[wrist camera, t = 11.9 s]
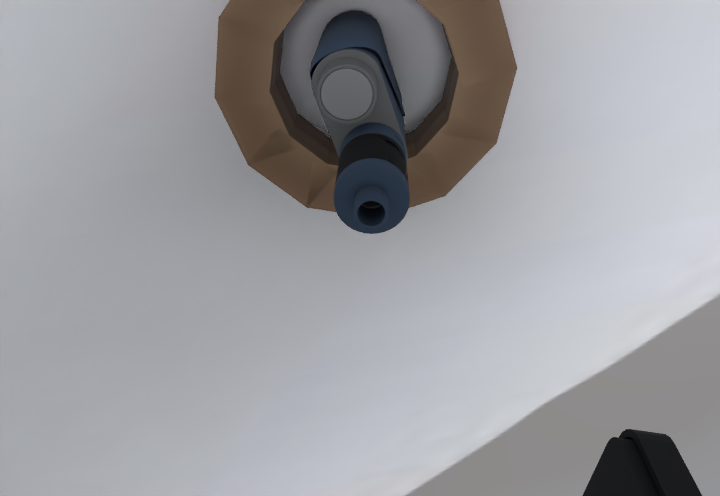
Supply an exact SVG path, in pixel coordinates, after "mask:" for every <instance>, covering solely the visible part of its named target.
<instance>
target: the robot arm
mask: <svg viewBox="0 0 720 496" xmlns="http://www.w3.org/2000/svg"><path fill="white" fill-rule="evenodd" d="M583 496H702V495H701V493H700V491H699V489H698V487H697V485H696V483H695V481H694V480H693V478H692V476H691V474H690V472H689V470H688V468H687V466H686V464H685V463H684V461H683V459H682V457H681V455H680V453H679V451H678V449H677V448H676V446H675V444H674V442H673V441H672V439H671V438H670V437H669V436H667V435H666V434H660V433H653V432H646V431H639V430H632V429H626V430H625V431H623V432H622V433H621V435H620V436H619V438H617V437H613V438H611V439H610V440H609V442H608V443H607V445H606V447H605V449H604V452H603V454H602V456H601V458H600V460H599V462H598V464H597V467H596V468H595V471H594V473H593V475H592V477H591V479H590V481H589V483H588V485H587V487H586V490H585V492H584V494H583Z"/></svg>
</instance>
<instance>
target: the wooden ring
mask: <svg viewBox="0 0 720 496" xmlns="http://www.w3.org/2000/svg"><path fill="white" fill-rule="evenodd" d="M304 1H306V0H230V2H229V3H228V5H227V6H226V8H225V9H224V10H223V12H222V13H221V15H220V16H219V23H218V43H217V63H216V83H215V99H216V101H217V103H218V105H219V107H220V109H221V111H222V113H223V115H224V117H225V119H226V121H227V123H228V125H229V127H230V129H231V131H232V133H233V135H234V137H235V139H236V141H237V143H238V145H239V147H240V149H241V151H242V153H243V155H244V157H245V159H246V161H247V163H248V165H249V166H250V167H252V168H253V169H255V170H256V171H257V172H259V173H260V174H262V175H263V176H264V177H266V178H267V179H268V180H270V181H271V182H273V183H274V184H275V185H277V186H278V187H280V188H281V189H282V190H284V191H285V192H286V193H288V194H289V195H291V196H292V197H293V198H295V199H296V200H297V201H299V202H300V203H302V204H303V205H304V206H306V207H307V208H314V209H321V210H327V211H333V212H336V210H335V206H334V200H333V198H334V189H335V182H336V176H337V169H338V167H339V165H338V162H339V156H338V154H337V151H336V149H335V146H334V144H333V141H332V140H331V139H330V138H328V137H327V136H326V135H324V134H323V133H322V132H321V131H319V130H318V129H317V128H315V127H314V126H313V125H311V124H310V123H309V122H308V121H306V120H305V119H304V118H302V117H301V116H300V115H298V114H297V112H296V109H295V107H294V105H293V103H292V100H291V98H290V96H289V94H288V91H287V89H286V87H285V84H284V82H283V80H282V78H281V75H280V63H281V53H282V43H283V33H284V28H285V27H286V25H287V24H288V23H289V21H290V20H291V19H292V17H293V16H294V14H295V13H296V12H297V10H298V9H299V8H300V6H301V5H302V3H303V2H304ZM417 1H418V2H419V3H420V4H421V5H422V6H423V7H424V8H426V9H427V10H428V11H429V12H430V13H431V14H432V15H433V16H435V17H436V18H437V19H438V20H439V21H440V22H441V23H442V26H443V29H444V32H445V35H446V38H447V42H448V45H449V48H450V51H451V54H452V58H451V63H450V67H449V72H448V76H447V80H446V85H445V89H444V94H443V98H442V101H441V102H440V103H439V104H438V105H437V106H436V107H435V109H434V110H433V111H432V112H431V113H430V114H429V115H428V116H427V117H426V119H425V120H424V121H423V122H422V123H421V124H420V125H419V126H418V128H417V129H416V130H415V131H414V132H413V133H410V134H407V135H405V140H406V148H407V152H408V159H407V163H406V164H407V167H406V168H407V169H406V173H408V184H409V194H410V202H409V208H410V207H413V206H416V205H419V204H422V203H425V202H428V201H431V200H434V199H437V198H440V197H443V196H445V195H446V194H447V193H448V192H449V191H450V190H451V189H452V188H453V187H454V186H455V185H456V184H457V183H458V182H459V181H460V180H461V179H462V178H463V177H464V176H465V175H466V174H467V173H468V172H469V171H470V170H471V169H472V168H473V167H474V166H475V165H476V164H477V162H478V161H479V160H480V159H481V158H482V157H483V156H484V155H485V154H486V153H487V152H488V151H489V150H490V149H491V148H492V147H493V146H494V145H495V144H496V143H497V139H498V136H499V132H500V128H501V125H502V121H503V117H504V114H505V110H506V106H507V103H508V99H509V95H510V92H511V88H512V85H513V81H514V77H515V74H516V70H517V66H516V62H515V58H514V54H513V51H512V47H511V43H510V39H509V36H508V32H507V28H506V24H505V21H504V17H503V13H502V9H501V6H500V2H499V0H417ZM339 175H340V173H339ZM406 175H407V174H406ZM404 176H405V175H404ZM338 177H339V176H338Z"/></svg>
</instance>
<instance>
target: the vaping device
mask: <svg viewBox="0 0 720 496" xmlns="http://www.w3.org/2000/svg"><path fill="white" fill-rule="evenodd" d="M310 77H311V80H312V89H313V93H314V95H315V98H316V100H317V103H318V106H319V108H320V111H321V113H322V116H323V118H324V121H325V123H326V126H327V128H328V131H329V133H330V136H331V139H332V141H333V144H334V146H335V149H336V151H337V154H338V156H339V162H338V165H339V167H338V169H337V176H336V182H335V189H334V198H333V200H334V206H335V210H336V212H337V214H338V216H339V217H340V219H341V220H342V221H343V222H344V223H345V224H346V225H347V226H349V227H350V228H352V229H354V230H356V231H359V232H363V233H370V234H373V233H381V232H385V231H387V230H390V229H391V228H393V227H395V226H396V225H397V224H399V223H400V222H401V220H402V219H403V218H404V216H405V215H406V213H407V211H408V208H409V202H410V194H409V184H408V173H406V169H407V168H406V167H407V164H406V163H407V159H408V152H407V148H406V140H405V129H404V119H403V116H405V113H404V110H403V106H402V99H401V93H400V90H399V87H398V84H397V81H396V78H395V75H394V72H393V69H392V66H391V63H390V60H389V56H388V53H387V49H386V46H385V42H384V39H383V35H382V32H381V28H380V26H379V24H378V22H377V20H376V19H374V18H373V17H372V16H371V15H369V14H367V13H364V12H362V11H349V12H344V13H342V14H340V15H338V16H336V17H334V18H333V19H332V20H331V21H330V22H329V23H328V24H327V26H326V28H325V30H324V31H323V34H322V37H321V39H320V42H319V44H318V47H317V50H316V52H315V55H314V57H313V60H312V63H311V69H310ZM339 173H340V175H339ZM406 174H407V175H406ZM404 175H405V176H404ZM338 176H339V177H338Z"/></svg>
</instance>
